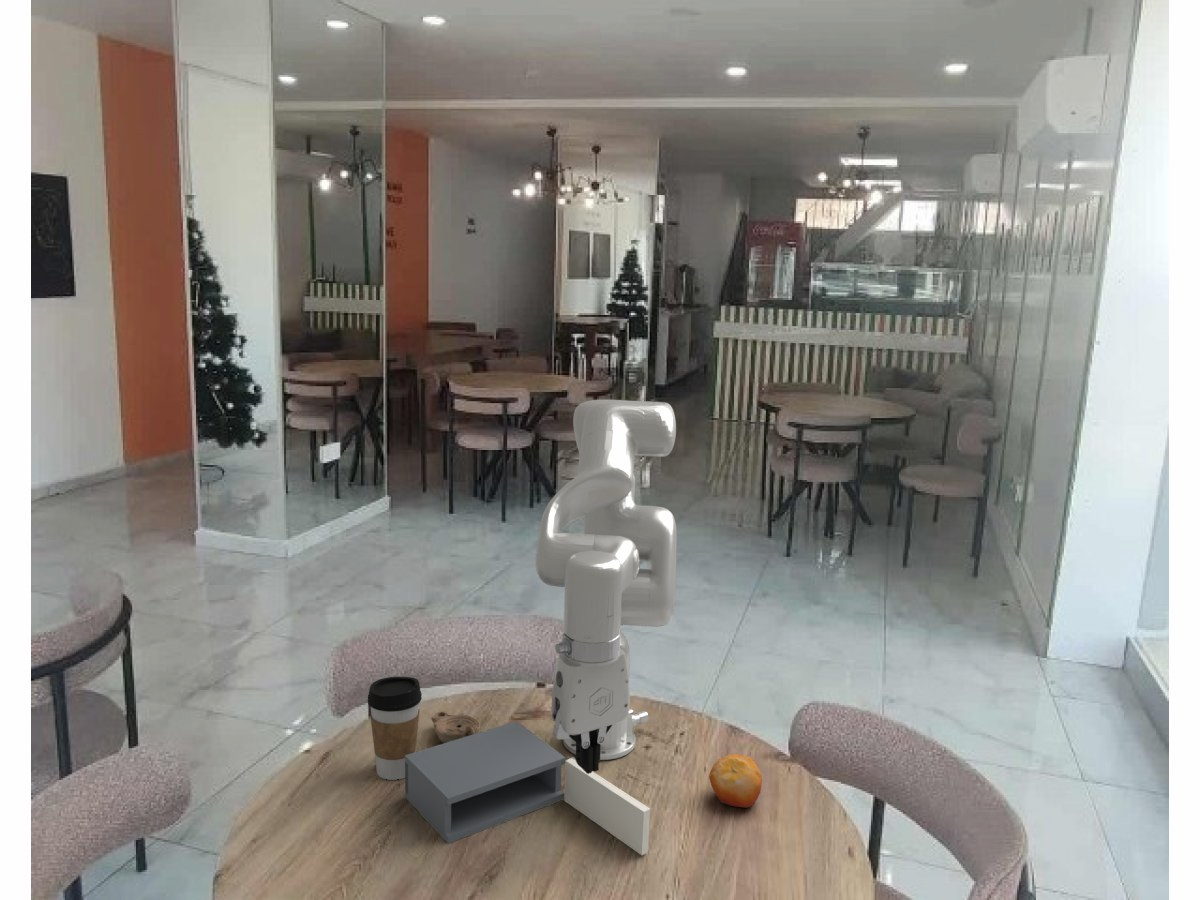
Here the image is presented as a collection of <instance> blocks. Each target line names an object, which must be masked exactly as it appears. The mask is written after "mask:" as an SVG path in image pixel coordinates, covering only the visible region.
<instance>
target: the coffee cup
mask: <svg viewBox="0 0 1200 900" xmlns="http://www.w3.org/2000/svg"><path fill="white" fill-rule="evenodd" d="M422 695H423V694H422V691H421V686H420V680H419V679H418V678H415V677H411V676H388V677H384V678H380V679H377V680H376V681H374V682H372V683H371V684H370V686H369V690H368V695H367V704H368V706H369V707H370V714H369V715H370V725H371V733H372V743H373V749H374V757H375V767H376V769H375V770H376V774H377V776H378V777H379V778H380V779H383V780H386V779H387V780H388V781H398V780H397V779H399V780H402V779H405V755H408V754H411V753H415V752H416V750H417V741H418V740H417V739H418V732H419V731H418V730H419V721H420V720H419V719H420V708H419V705H420V703H421V701H422Z"/></svg>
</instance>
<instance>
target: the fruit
mask: <svg viewBox="0 0 1200 900" xmlns="http://www.w3.org/2000/svg"><path fill="white" fill-rule="evenodd" d="M708 775H709V776H708V778H709V782H710V785H711V788H712V790H713V792H714V794H715V795H716V797H717V799H718V801H719V802H721V803H722V804H725V805H727V806H731V807H734V808H735V807H736V808H744V809H745V808H750V807H752V806H753V805H755V803H756V802H757V800H758V798H759V797H760V794H761V791H762V782H763V778H762V777H763V776H762V773H761V770H760V768H759V767H758V765H757V763H756V762H755V761H754V759H753V758H751V756H748V755H744V754H738V753H732V754H727V755H724V756H723V757H721V758H719V759H717V761H716V762H715V763H714V764H713V766H712V767H711V769H710V772H709V774H708Z"/></svg>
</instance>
